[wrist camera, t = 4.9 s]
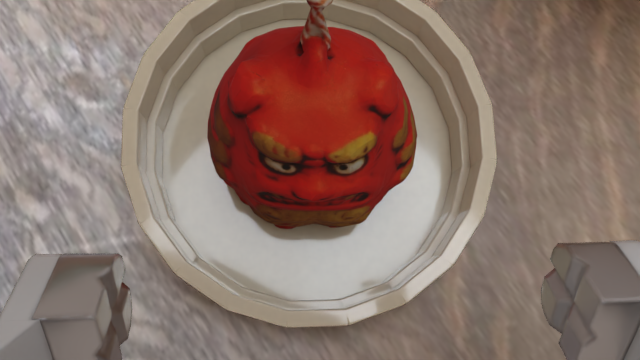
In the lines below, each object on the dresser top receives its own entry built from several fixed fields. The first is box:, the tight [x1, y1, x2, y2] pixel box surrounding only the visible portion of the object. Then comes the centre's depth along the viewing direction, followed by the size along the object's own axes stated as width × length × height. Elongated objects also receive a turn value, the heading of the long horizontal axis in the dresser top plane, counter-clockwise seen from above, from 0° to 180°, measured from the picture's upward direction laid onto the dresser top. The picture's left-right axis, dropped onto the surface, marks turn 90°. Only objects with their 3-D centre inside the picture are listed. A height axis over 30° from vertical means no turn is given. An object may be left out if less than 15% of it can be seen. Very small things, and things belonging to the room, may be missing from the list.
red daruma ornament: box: [207, 0, 417, 229], centre depth 18 cm, size 8×7×15 cm
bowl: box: [121, 0, 497, 328], centre depth 24 cm, size 14×14×4 cm
